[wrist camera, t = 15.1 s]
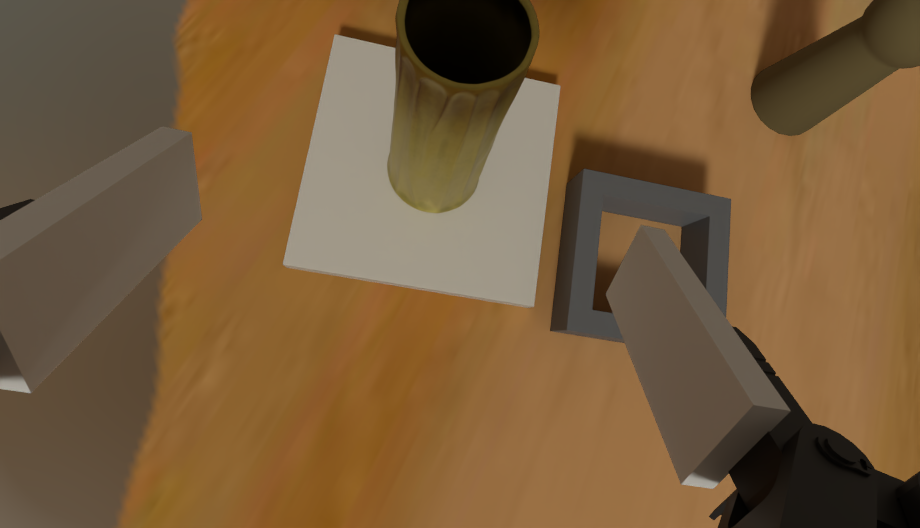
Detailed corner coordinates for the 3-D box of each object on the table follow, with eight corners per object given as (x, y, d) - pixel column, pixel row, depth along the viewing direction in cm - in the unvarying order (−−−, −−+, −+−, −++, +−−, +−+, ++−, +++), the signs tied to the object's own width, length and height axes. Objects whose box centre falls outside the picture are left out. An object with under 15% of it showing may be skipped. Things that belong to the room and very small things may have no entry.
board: (554, 94, 34) (560, 85, 33) (528, 307, 31) (533, 306, 30) (336, 45, 32) (334, 34, 31) (287, 267, 29) (282, 264, 28)
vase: (497, 182, 31) (583, 50, 17) (422, 232, 29) (450, 134, 15) (444, 110, 31) (486, -78, 17) (368, 156, 30) (346, -6, 16)
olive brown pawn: (769, 144, 36) (930, 60, 25) (739, 75, 36) (884, -35, 26) (829, 125, 37) (1008, 37, 26) (799, 58, 38) (961, -53, 27)
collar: (701, 211, 34) (731, 199, 31) (693, 354, 32) (724, 355, 29) (566, 183, 33) (583, 168, 30) (550, 330, 31) (566, 330, 28)
